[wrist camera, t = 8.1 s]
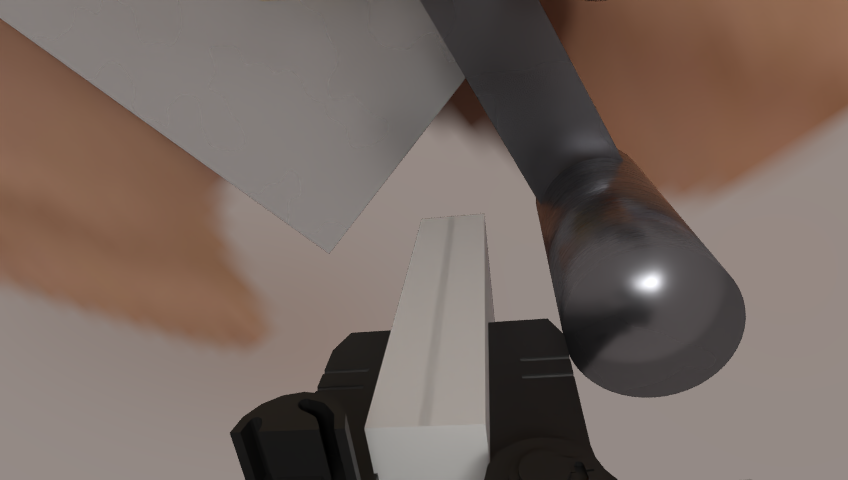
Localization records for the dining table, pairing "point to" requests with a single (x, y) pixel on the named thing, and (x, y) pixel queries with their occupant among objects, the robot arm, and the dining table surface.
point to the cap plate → (265, 88)
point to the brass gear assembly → (595, 212)
